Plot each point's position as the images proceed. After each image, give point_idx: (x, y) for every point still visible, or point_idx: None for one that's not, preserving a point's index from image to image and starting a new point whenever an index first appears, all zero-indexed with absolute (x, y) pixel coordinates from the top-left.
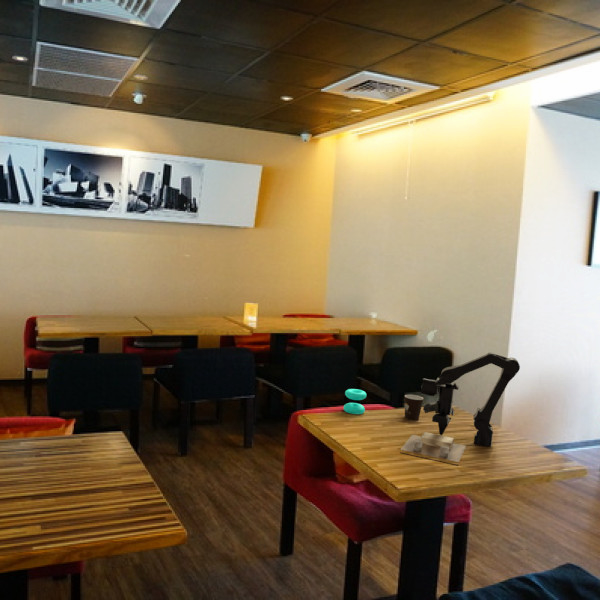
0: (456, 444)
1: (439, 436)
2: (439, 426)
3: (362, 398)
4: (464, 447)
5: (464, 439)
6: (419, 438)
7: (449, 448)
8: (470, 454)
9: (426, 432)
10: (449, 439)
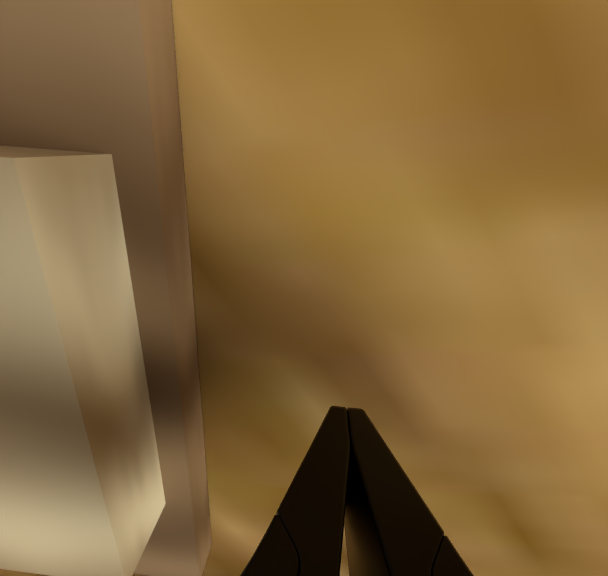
0: (173, 525)
1: (10, 445)
2: (261, 556)
3: None
4: (139, 570)
5: (525, 551)
6: (8, 77)
7: None
8: None
9: (22, 213)
10: (10, 545)
